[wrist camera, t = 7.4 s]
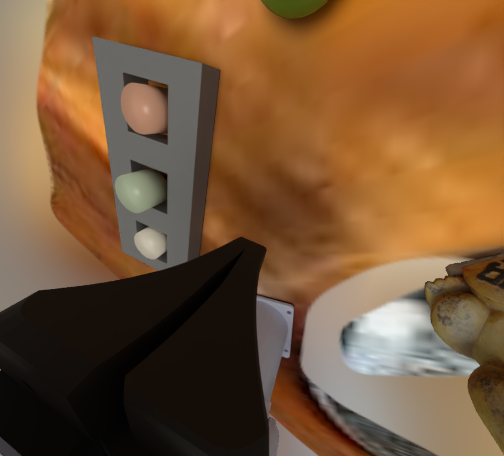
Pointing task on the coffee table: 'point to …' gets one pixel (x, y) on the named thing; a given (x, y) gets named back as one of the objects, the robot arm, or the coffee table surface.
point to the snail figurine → (293, 7)
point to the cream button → (151, 242)
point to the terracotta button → (145, 108)
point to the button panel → (161, 144)
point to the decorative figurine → (475, 330)
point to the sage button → (141, 189)
